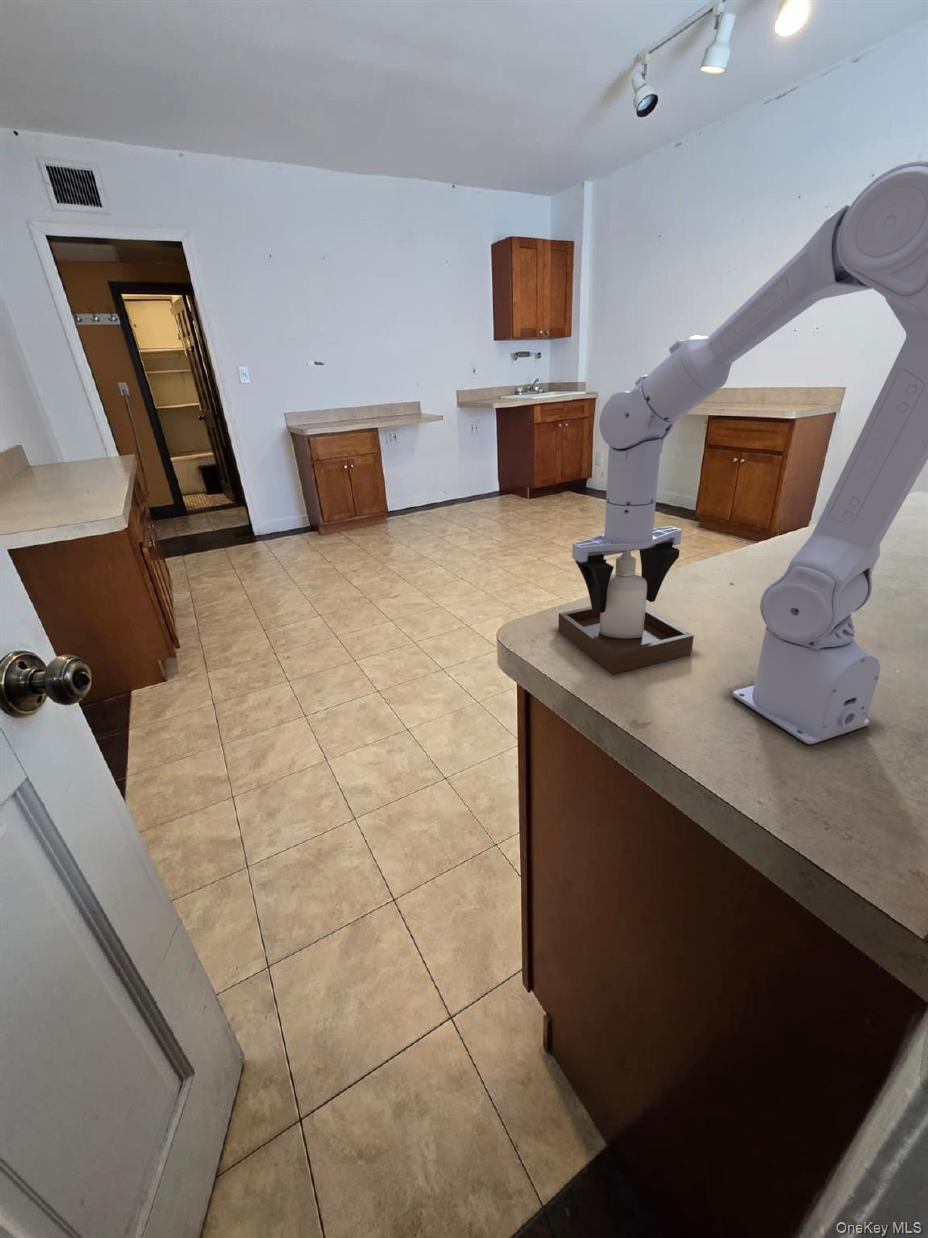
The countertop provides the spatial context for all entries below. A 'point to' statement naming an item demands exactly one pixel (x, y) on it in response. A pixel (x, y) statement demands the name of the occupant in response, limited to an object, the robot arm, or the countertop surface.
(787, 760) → the countertop surface
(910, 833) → the countertop surface
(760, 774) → the countertop surface
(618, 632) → the eye dropper bottle
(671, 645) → the tray
